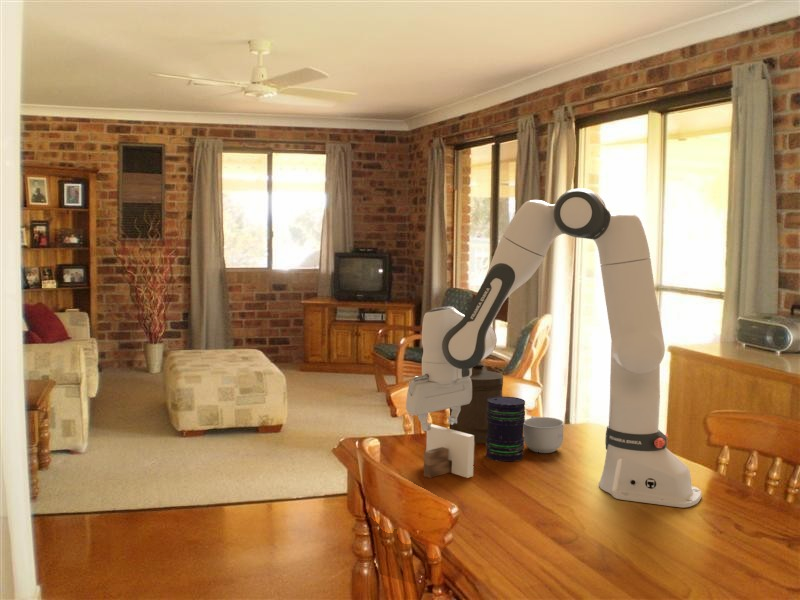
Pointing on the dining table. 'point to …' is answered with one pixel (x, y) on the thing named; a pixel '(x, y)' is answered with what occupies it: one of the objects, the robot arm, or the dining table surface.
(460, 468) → the white arch block
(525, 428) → the teacup
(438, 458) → the grey notched block
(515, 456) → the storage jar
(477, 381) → the wooden container
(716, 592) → the dining table surface
